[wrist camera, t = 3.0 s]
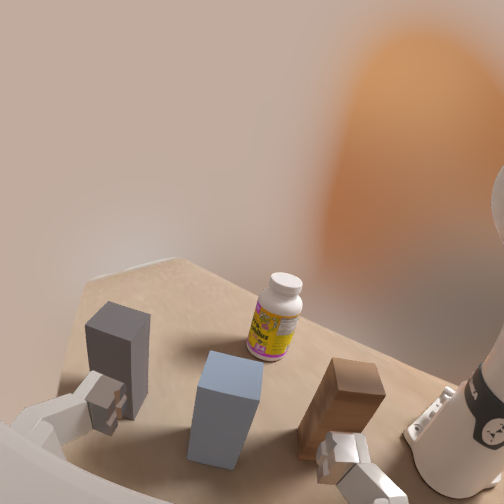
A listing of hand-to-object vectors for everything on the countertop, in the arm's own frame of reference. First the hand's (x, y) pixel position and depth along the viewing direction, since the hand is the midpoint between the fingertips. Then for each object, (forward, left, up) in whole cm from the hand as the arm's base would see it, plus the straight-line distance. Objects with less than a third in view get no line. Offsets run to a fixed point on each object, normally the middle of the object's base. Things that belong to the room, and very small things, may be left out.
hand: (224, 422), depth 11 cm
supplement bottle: (-29, -18, -20) cm, 39 cm away
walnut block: (-20, -1, -20) cm, 28 cm away
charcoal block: (-4, -19, -20) cm, 28 cm away
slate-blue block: (-10, -8, -20) cm, 24 cm away
